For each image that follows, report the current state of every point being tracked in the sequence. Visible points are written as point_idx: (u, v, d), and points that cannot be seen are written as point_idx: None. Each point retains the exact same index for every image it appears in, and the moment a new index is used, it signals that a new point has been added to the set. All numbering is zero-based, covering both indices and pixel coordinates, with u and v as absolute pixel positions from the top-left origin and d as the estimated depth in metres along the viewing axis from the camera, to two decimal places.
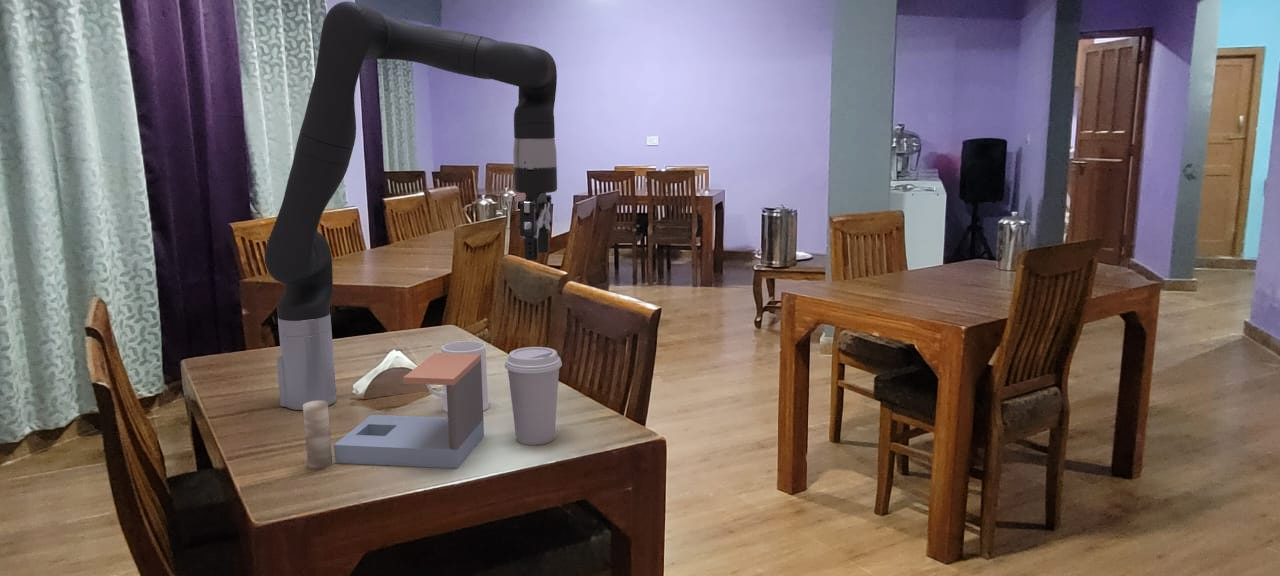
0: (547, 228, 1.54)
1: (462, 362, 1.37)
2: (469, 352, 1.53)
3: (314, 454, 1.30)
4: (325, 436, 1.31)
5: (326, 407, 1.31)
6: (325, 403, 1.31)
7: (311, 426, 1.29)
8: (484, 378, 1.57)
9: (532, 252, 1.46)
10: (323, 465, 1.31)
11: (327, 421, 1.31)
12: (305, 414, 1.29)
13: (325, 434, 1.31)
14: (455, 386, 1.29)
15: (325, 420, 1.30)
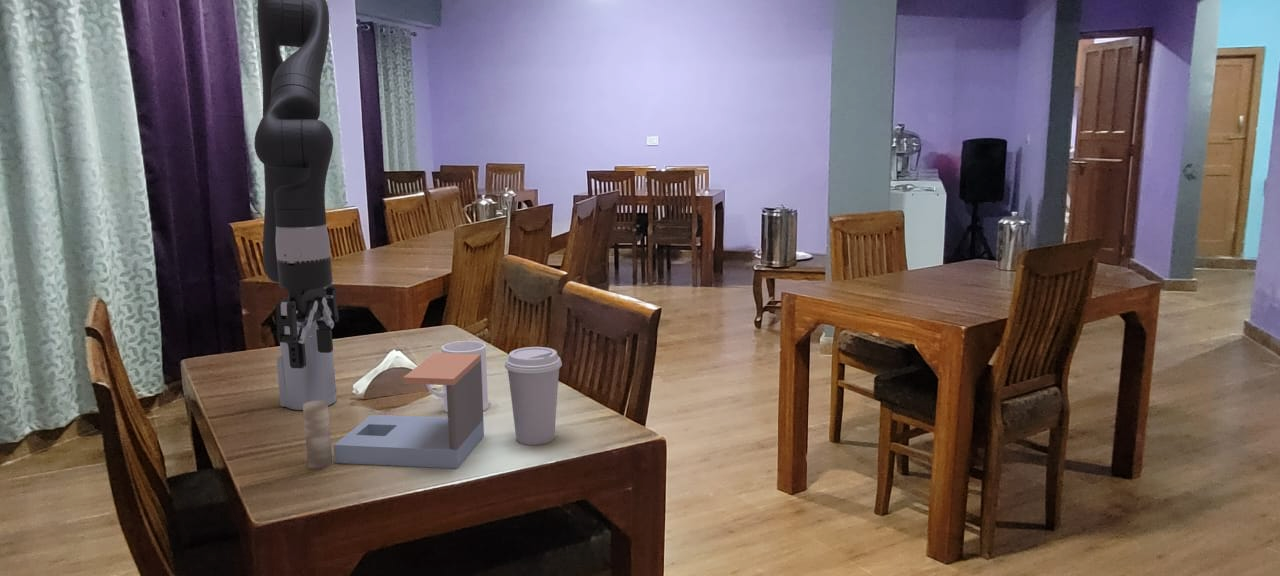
0: (328, 325, 1.32)
1: (462, 362, 1.37)
2: (469, 352, 1.53)
3: (314, 454, 1.30)
4: (325, 436, 1.31)
5: (326, 407, 1.31)
6: (325, 403, 1.31)
7: (311, 426, 1.29)
8: (484, 378, 1.57)
9: (296, 360, 1.24)
10: (323, 465, 1.31)
11: (327, 421, 1.31)
12: (305, 414, 1.29)
13: (325, 434, 1.31)
14: (455, 386, 1.29)
15: (325, 420, 1.30)
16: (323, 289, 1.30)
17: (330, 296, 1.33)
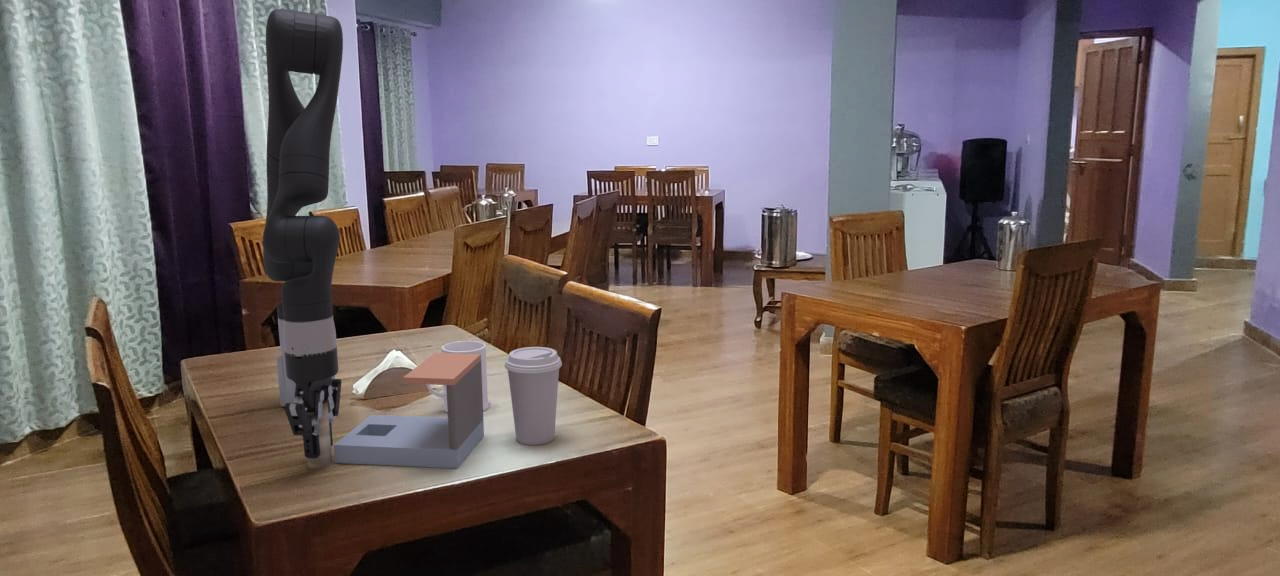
0: None
1: (462, 362, 1.37)
2: (469, 352, 1.53)
3: None
4: (325, 436, 1.31)
5: (327, 407, 1.31)
6: (325, 403, 1.31)
7: (311, 426, 1.29)
8: (484, 378, 1.57)
9: (311, 450, 1.29)
10: (323, 465, 1.31)
11: (327, 421, 1.31)
12: None
13: (325, 434, 1.31)
14: (455, 386, 1.29)
15: (325, 419, 1.30)
16: (330, 376, 1.33)
17: (335, 388, 1.35)
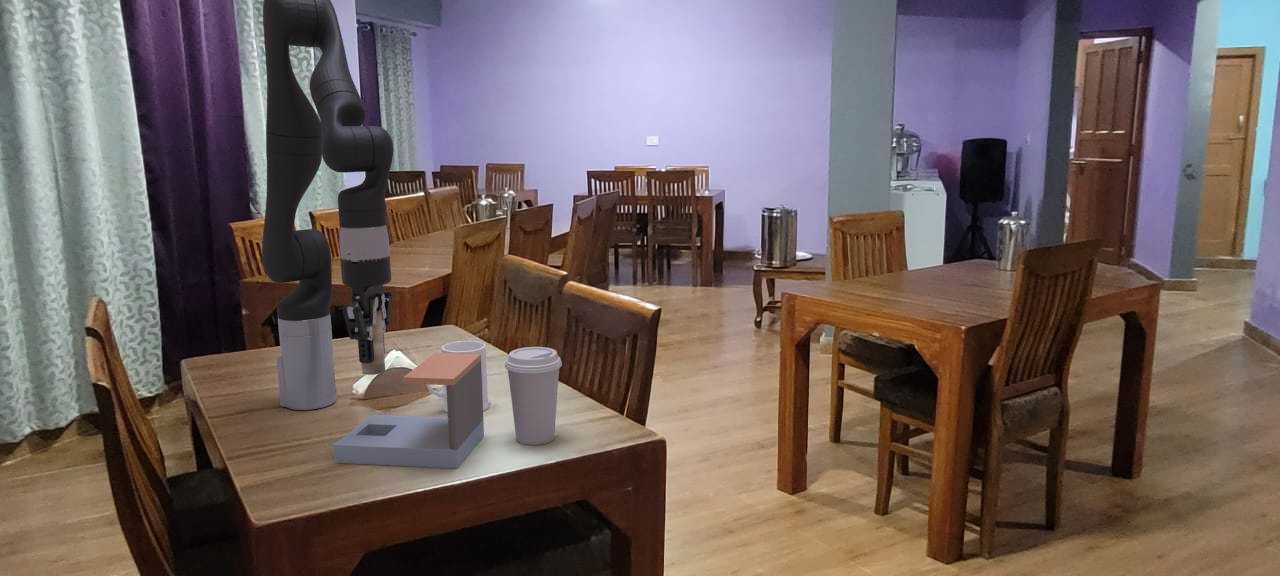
0: None
1: (462, 362, 1.37)
2: (469, 352, 1.53)
3: None
4: (379, 342, 1.35)
5: (380, 314, 1.35)
6: (379, 311, 1.36)
7: None
8: (484, 378, 1.57)
9: (366, 355, 1.33)
10: (377, 371, 1.36)
11: (381, 328, 1.36)
12: None
13: (379, 340, 1.35)
14: (455, 386, 1.29)
15: (379, 326, 1.35)
16: (382, 286, 1.38)
17: (386, 298, 1.40)
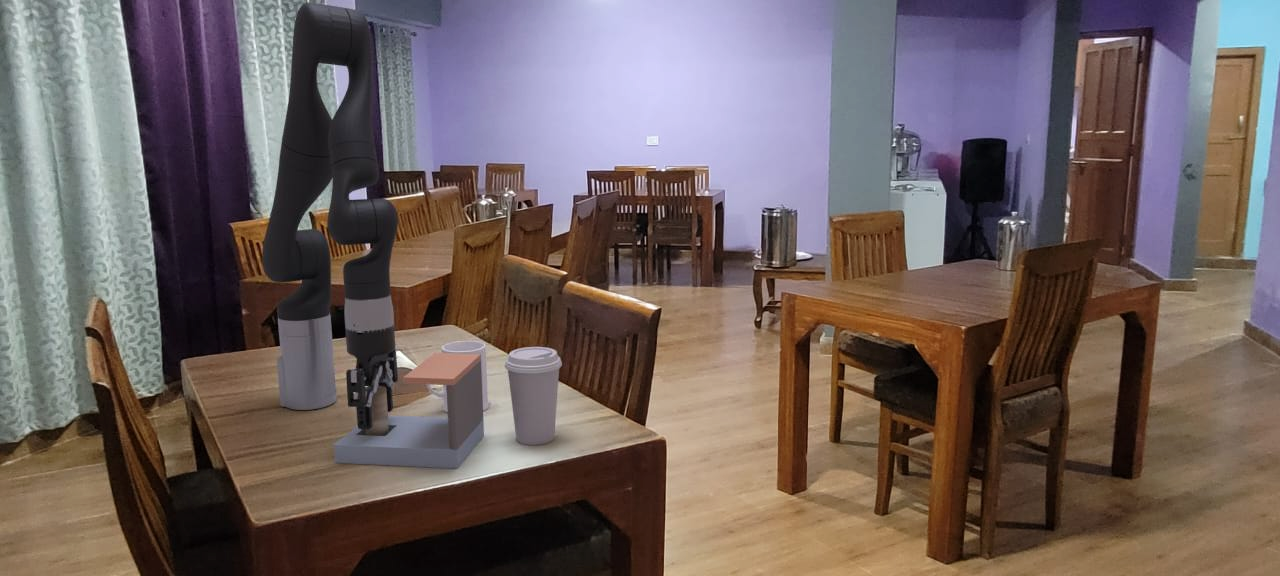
0: (389, 386, 1.41)
1: (462, 362, 1.37)
2: (469, 352, 1.53)
3: None
4: (384, 419, 1.38)
5: (385, 392, 1.38)
6: (384, 388, 1.38)
7: None
8: (484, 378, 1.57)
9: (364, 422, 1.33)
10: None
11: (386, 405, 1.38)
12: None
13: (384, 418, 1.38)
14: (455, 386, 1.29)
15: (384, 404, 1.38)
16: None
17: (391, 359, 1.42)
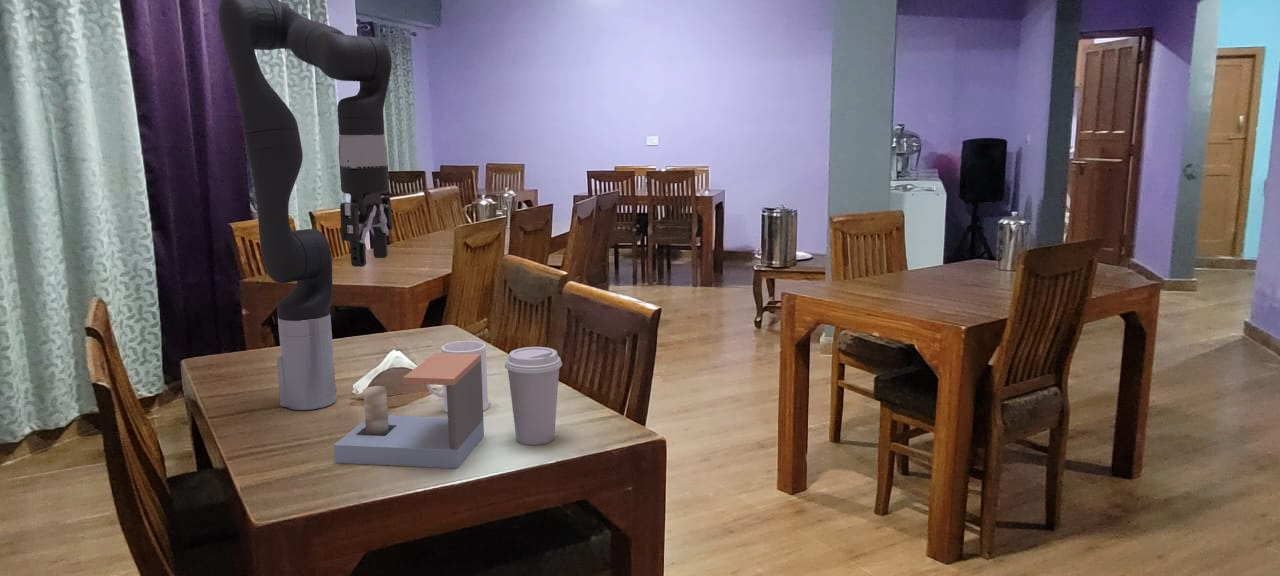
0: (384, 232, 1.43)
1: (462, 362, 1.37)
2: (469, 352, 1.53)
3: None
4: (384, 419, 1.38)
5: (385, 392, 1.38)
6: (384, 388, 1.38)
7: (371, 410, 1.37)
8: (484, 378, 1.57)
9: (358, 258, 1.34)
10: None
11: (386, 405, 1.38)
12: (366, 398, 1.37)
13: (384, 418, 1.38)
14: (455, 386, 1.29)
15: (384, 404, 1.37)
16: (380, 197, 1.41)
17: (385, 205, 1.43)
